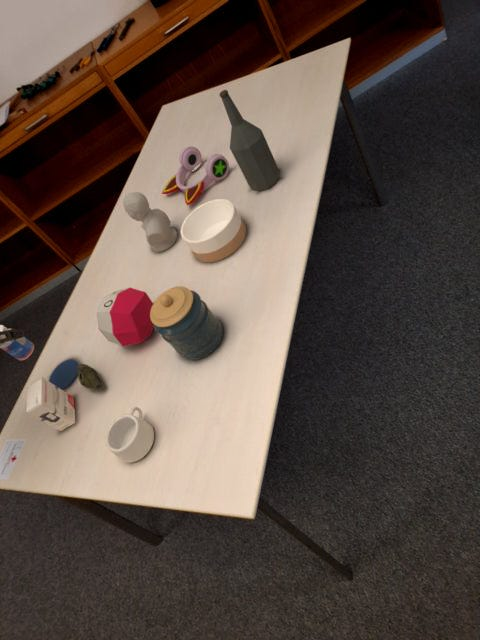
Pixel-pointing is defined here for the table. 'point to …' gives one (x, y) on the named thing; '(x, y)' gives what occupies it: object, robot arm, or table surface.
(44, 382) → the ink box
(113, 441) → the mug
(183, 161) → the headphones
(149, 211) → the figurine
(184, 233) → the bowl
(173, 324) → the canister
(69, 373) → the coaster
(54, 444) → the table surface
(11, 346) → the pill bottle
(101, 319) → the decorative object
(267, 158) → the bottle
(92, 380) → the decorative stone
